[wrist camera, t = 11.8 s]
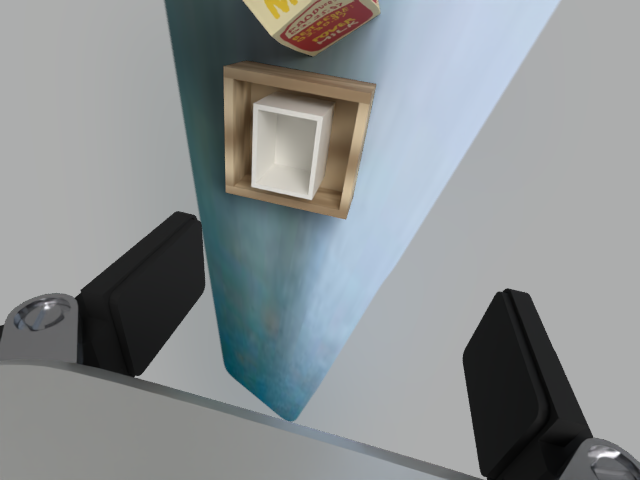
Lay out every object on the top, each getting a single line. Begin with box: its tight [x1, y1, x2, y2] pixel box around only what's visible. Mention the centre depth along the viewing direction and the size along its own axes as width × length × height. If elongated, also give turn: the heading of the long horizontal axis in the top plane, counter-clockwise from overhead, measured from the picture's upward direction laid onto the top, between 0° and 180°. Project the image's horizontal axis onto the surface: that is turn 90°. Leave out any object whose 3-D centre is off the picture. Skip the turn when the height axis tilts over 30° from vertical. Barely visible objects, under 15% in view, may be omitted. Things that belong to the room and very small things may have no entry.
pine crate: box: [223, 60, 376, 219], centre depth 40 cm, size 14×15×6 cm
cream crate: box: [251, 91, 336, 200], centre depth 39 cm, size 9×7×7 cm
